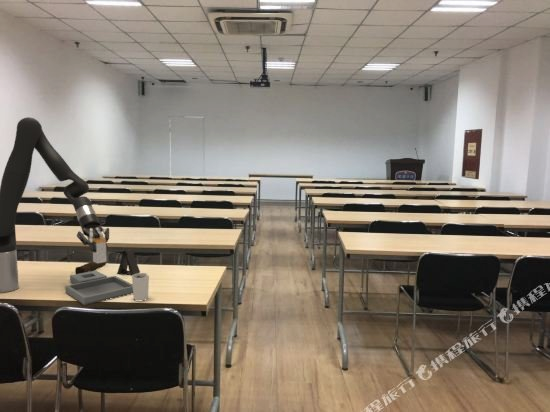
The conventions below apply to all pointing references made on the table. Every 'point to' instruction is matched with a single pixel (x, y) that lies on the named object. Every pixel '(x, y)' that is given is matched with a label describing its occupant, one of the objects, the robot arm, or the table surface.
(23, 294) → the table surface
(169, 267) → the table surface
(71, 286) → the tray
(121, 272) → the black a-frame stand
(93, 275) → the socket block
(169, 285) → the table surface
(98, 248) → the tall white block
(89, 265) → the hand tool
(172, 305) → the table surface
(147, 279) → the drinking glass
